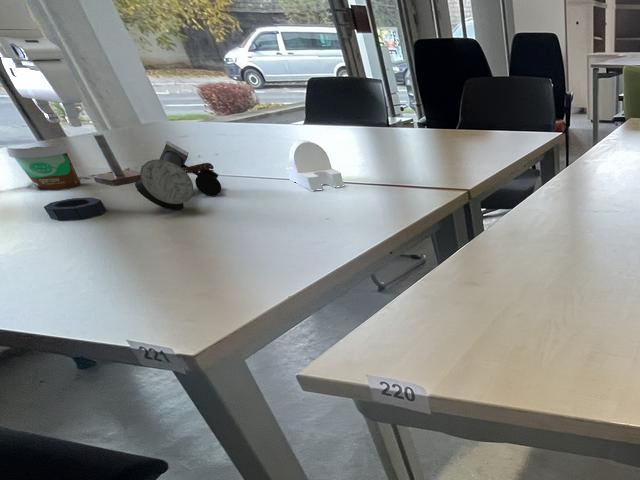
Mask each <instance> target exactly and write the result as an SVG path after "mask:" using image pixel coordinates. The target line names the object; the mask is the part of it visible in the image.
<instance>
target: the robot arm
mask: <svg viewBox="0 0 640 480" xmlns="http://www.w3.org/2000/svg"><path fill="white" fill-rule="evenodd" d="M0 60H1V63H2V65H3V68H4V70H5V72H6V73H7V75H8V77H9V79H10V81H11V83H12V85H13V86H14V88H15V90H16V91H17V92H18V93H19V95H20V96H21V97H22V98H26V99H32V101H33V103H34V104H35V105H36V108H38V110H40V111H41V113H42V114H43V115H44V117H45V119H46V120H47V122H49V123H51V124H56V123H61V119H60V118H59V115H58V114H57V112H55V111H54V110H53V108H52V107H51V106H50V102H51V103H57V104H59V106H60V108H61V109H62V110H63V112H64V114H65V116H64V117H65V120H66V121H67V123H68V125H69V126H70V127H73V128H80V127H82V126H83V125H82V122H81V119H80V118H79V115H78V111H77V107H76V105H75V104H79V103H82V101H83V99H82V93H81V91H80V90H79V87H78V85H77V83H76V81H75V79H74V77H73V75H72V73H71V71H70V68H69V67H68V66H67V64H66V63H65V62H64V61H63V60H65V55H64V54H63V52H62V49H61V48H60V47H59V46H58V45H56V44H55V43H53V42H52V41H50V40H49V39H48V38H47V37H45V36H44V34H43V32H42V30H41V28H40V27H39V25H38V24H37V23H36V21H35V20H34V19H33V18H32V16H31V15H30V12H29V10H28V6H27V3H26V1H25V0H0Z"/></svg>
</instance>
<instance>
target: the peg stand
mask: <svg viewBox="0 0 640 480" xmlns="http://www.w3.org/2000/svg"><path fill="white" fill-rule="evenodd" d="M92 137H93V139H94V141H95V143H96V145H97V147H98V149H99V151H100V152H101V155H102V156H103V158H104V160H105V161H106V163H107V165H108V168H109V169H110V171H111V172H109V173H103V174H98V175H93V176H92V177H93V180H94V181H95V183H99V182H101V183H100V184H103V183H106V184H105V185H108V184H110V185H109V186H113V185H117V186H121V185H120V184H122V185H127V184H132V183H136V182H137V181H140V180H141V177H140V172H137V171H131V170H128V169H126V170H123V169H122V167H121V166H120V164H119V161H118V159H117V157H116V155H115V154H114V152H113V150H112V149H111V146H110V144H109V143H108V141H107V139H106V136H105V135H104V134H103V133H95V134H92ZM126 183H127V184H126Z"/></svg>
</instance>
